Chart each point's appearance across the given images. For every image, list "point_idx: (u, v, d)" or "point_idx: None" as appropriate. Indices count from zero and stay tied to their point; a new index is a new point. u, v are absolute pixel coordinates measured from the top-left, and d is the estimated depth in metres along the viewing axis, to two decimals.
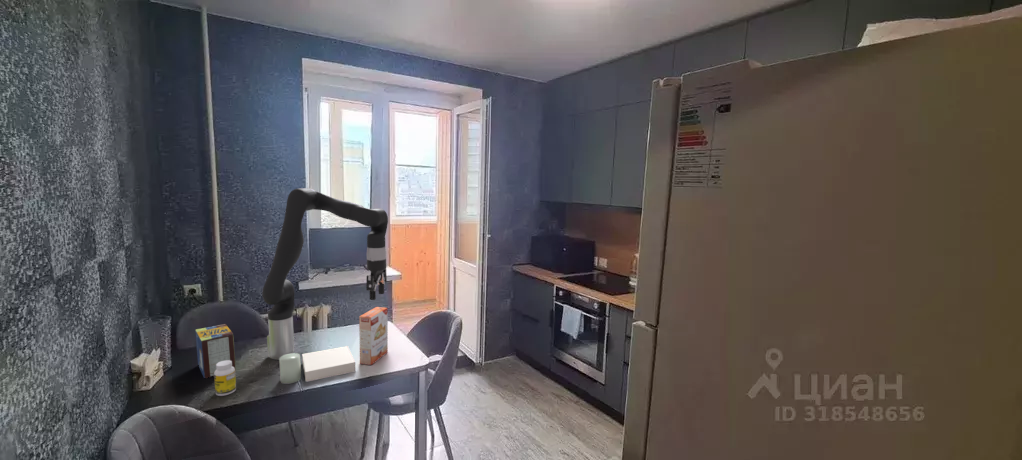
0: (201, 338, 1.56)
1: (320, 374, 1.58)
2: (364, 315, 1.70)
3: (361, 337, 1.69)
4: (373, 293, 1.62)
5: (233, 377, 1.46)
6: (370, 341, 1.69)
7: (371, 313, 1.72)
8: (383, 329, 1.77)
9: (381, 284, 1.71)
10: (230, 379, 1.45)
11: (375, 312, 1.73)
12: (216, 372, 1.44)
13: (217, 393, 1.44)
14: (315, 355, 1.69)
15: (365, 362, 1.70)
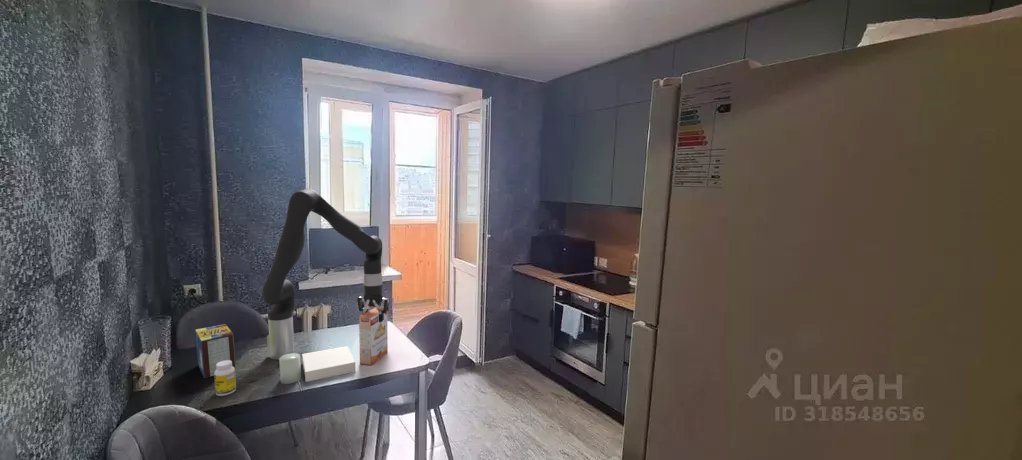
0: (201, 338, 1.56)
1: (320, 374, 1.58)
2: (364, 315, 1.70)
3: (361, 337, 1.69)
4: None
5: (233, 377, 1.46)
6: (370, 341, 1.69)
7: (371, 313, 1.72)
8: (382, 329, 1.77)
9: (367, 311, 1.75)
10: (230, 379, 1.45)
11: (375, 312, 1.73)
12: (216, 372, 1.44)
13: (217, 393, 1.44)
14: (315, 355, 1.69)
15: (365, 362, 1.70)
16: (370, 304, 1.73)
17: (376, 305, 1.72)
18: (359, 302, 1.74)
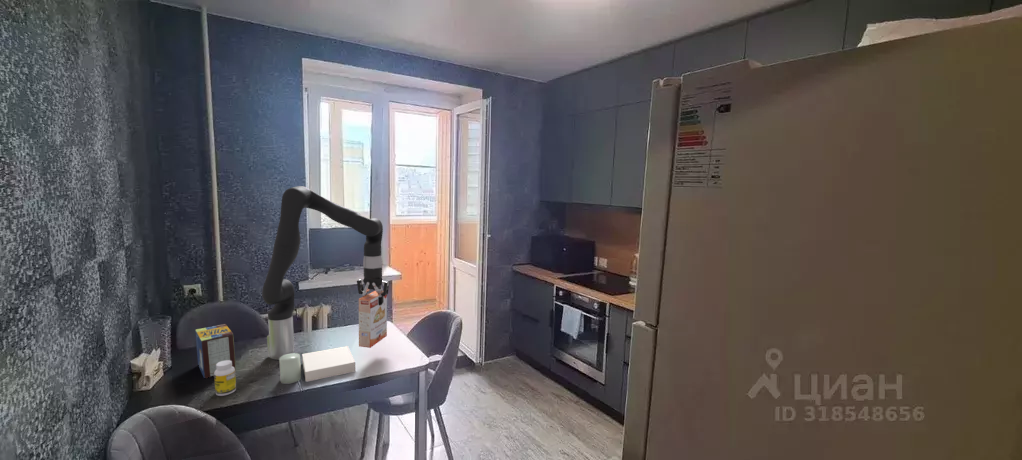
0: (201, 338, 1.56)
1: (320, 374, 1.58)
2: (363, 297, 1.69)
3: (360, 320, 1.68)
4: None
5: (233, 377, 1.46)
6: (369, 324, 1.68)
7: (370, 296, 1.71)
8: (382, 313, 1.76)
9: (366, 294, 1.74)
10: (230, 379, 1.45)
11: (374, 295, 1.73)
12: (216, 372, 1.44)
13: (217, 393, 1.44)
14: (315, 355, 1.69)
15: (364, 345, 1.69)
16: (370, 287, 1.72)
17: (376, 288, 1.71)
18: (359, 285, 1.73)
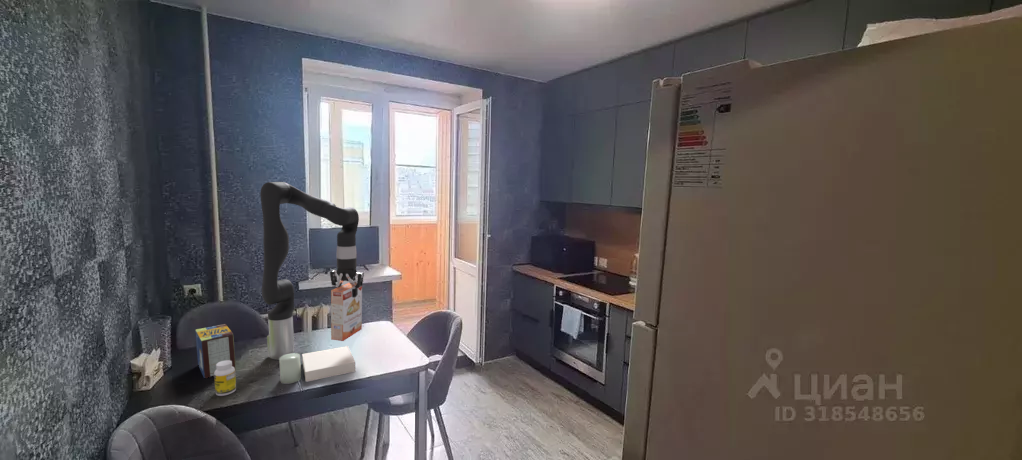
0: (201, 338, 1.56)
1: (320, 374, 1.58)
2: (336, 289, 1.63)
3: (333, 312, 1.63)
4: None
5: (233, 377, 1.46)
6: (342, 316, 1.62)
7: (344, 287, 1.65)
8: (356, 305, 1.71)
9: (340, 285, 1.68)
10: (230, 379, 1.45)
11: (348, 287, 1.67)
12: (216, 372, 1.44)
13: (217, 393, 1.44)
14: (315, 355, 1.69)
15: (337, 338, 1.64)
16: (343, 278, 1.66)
17: (349, 279, 1.65)
18: (332, 276, 1.67)
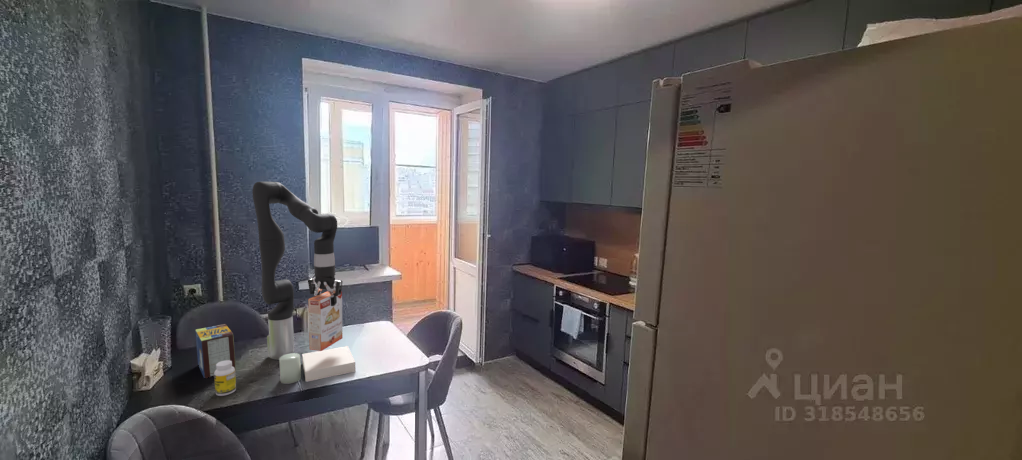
0: (201, 338, 1.56)
1: (320, 374, 1.58)
2: (314, 298, 1.59)
3: (310, 321, 1.59)
4: None
5: (233, 377, 1.46)
6: (320, 325, 1.58)
7: (322, 296, 1.61)
8: (336, 313, 1.66)
9: (319, 294, 1.64)
10: (230, 379, 1.45)
11: (327, 295, 1.63)
12: (216, 372, 1.44)
13: (217, 393, 1.44)
14: (315, 355, 1.69)
15: (315, 348, 1.59)
16: (321, 286, 1.62)
17: (327, 287, 1.61)
18: (310, 284, 1.63)
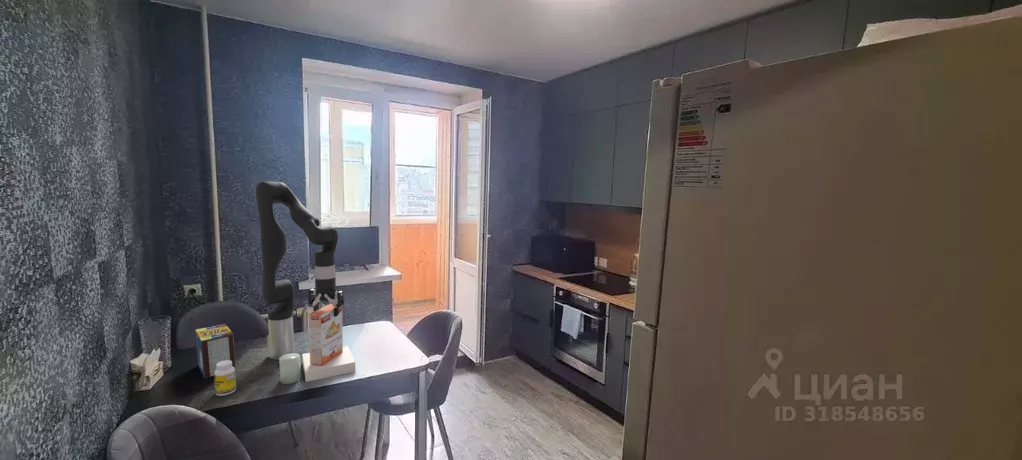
0: (201, 338, 1.56)
1: (320, 374, 1.58)
2: (314, 312, 1.60)
3: (311, 336, 1.59)
4: None
5: (233, 377, 1.46)
6: (320, 340, 1.59)
7: (322, 310, 1.62)
8: (336, 327, 1.67)
9: (317, 304, 1.65)
10: (230, 379, 1.45)
11: (327, 309, 1.64)
12: (216, 372, 1.44)
13: (217, 393, 1.44)
14: None
15: (315, 362, 1.60)
16: (321, 299, 1.63)
17: (329, 299, 1.62)
18: (310, 295, 1.64)
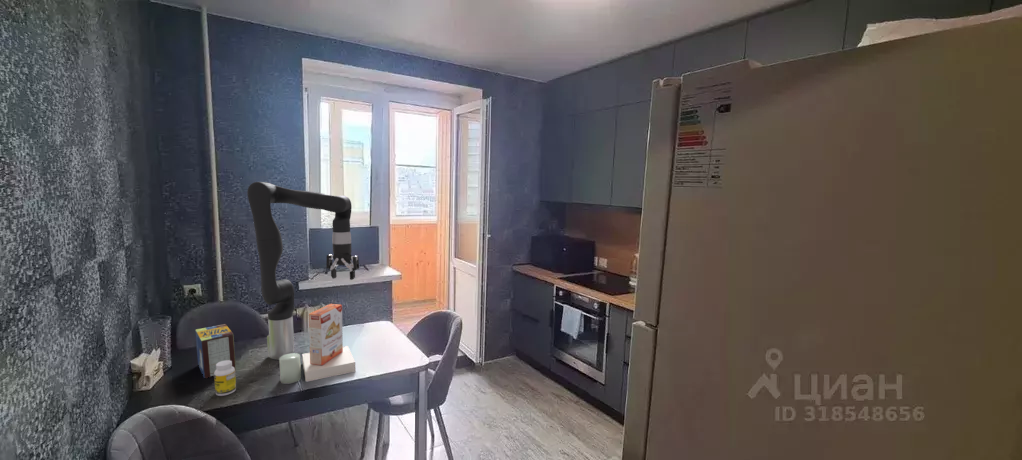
0: (201, 338, 1.56)
1: (320, 374, 1.58)
2: (314, 312, 1.60)
3: (311, 336, 1.59)
4: None
5: (233, 377, 1.46)
6: (320, 340, 1.59)
7: (322, 310, 1.62)
8: (336, 327, 1.67)
9: (334, 268, 1.78)
10: (230, 379, 1.45)
11: (327, 309, 1.64)
12: (216, 372, 1.44)
13: (217, 393, 1.44)
14: None
15: (315, 362, 1.60)
16: (338, 263, 1.76)
17: (345, 263, 1.75)
18: (328, 259, 1.77)
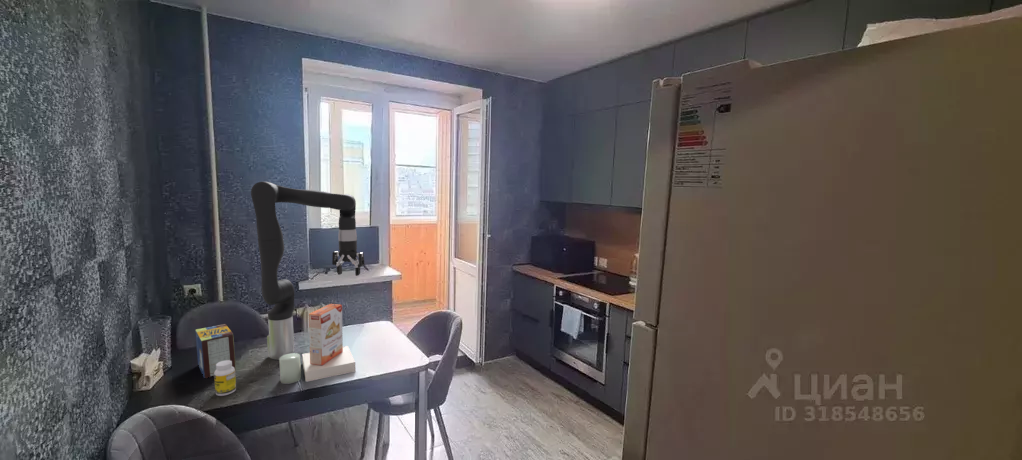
0: (201, 338, 1.56)
1: (320, 374, 1.58)
2: (314, 312, 1.60)
3: (311, 336, 1.59)
4: None
5: (233, 377, 1.46)
6: (320, 340, 1.59)
7: (322, 310, 1.62)
8: (336, 327, 1.67)
9: (340, 265, 1.84)
10: (230, 379, 1.45)
11: (327, 309, 1.64)
12: (216, 372, 1.44)
13: (217, 393, 1.44)
14: None
15: (315, 362, 1.60)
16: (344, 259, 1.81)
17: (351, 259, 1.80)
18: (334, 256, 1.82)
